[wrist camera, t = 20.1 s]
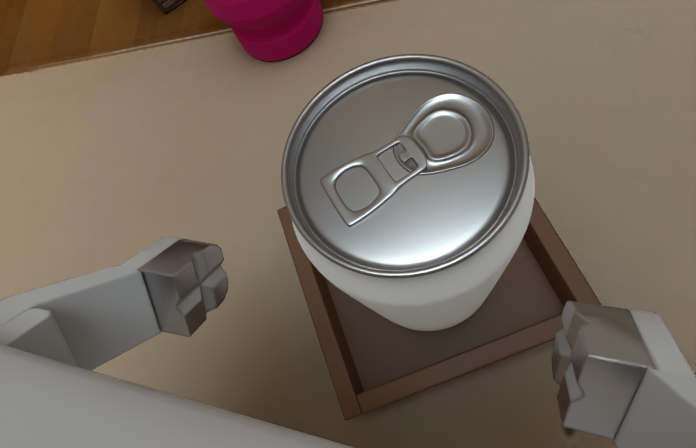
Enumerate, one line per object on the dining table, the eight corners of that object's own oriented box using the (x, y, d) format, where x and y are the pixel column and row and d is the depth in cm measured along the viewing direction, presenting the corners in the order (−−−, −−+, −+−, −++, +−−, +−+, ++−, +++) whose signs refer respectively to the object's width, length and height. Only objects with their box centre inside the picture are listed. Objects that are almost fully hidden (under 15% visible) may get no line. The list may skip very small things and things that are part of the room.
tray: (480, 140, 22) (484, 115, 20) (589, 322, 18) (610, 317, 16) (293, 224, 23) (276, 209, 21) (357, 413, 19) (344, 421, 17)
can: (521, 286, 19) (628, 183, 8) (405, 358, 19) (344, 361, 8) (442, 184, 21) (435, -5, 10) (340, 249, 21) (225, 134, 10)
